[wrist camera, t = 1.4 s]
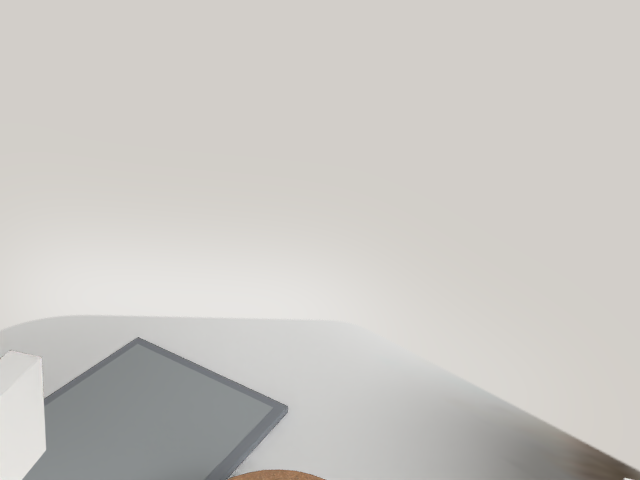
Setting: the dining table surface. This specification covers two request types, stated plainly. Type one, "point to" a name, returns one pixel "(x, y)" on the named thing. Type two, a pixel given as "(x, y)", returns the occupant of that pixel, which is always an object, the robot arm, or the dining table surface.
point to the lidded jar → (276, 475)
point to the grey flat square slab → (151, 421)
